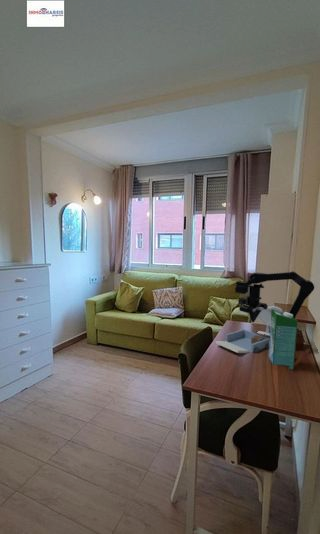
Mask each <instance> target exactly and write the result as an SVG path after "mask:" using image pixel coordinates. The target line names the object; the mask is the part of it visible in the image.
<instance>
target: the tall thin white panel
mask: <svg viewBox="0 0 320 534" xmlns="http://www.w3.org/2000/svg"><path fill="white" fill-rule="evenodd" d="M215 344H217V345H219V346H221V347H223V348H225V349H227V350H230V351H233V352H235V353H237V354H247V353H248V354H249V351H248V350H246V349H244V348H241V347H239V346H236V345H234V344H232V343H229V342H227V341H226V340H216V341H215Z"/></svg>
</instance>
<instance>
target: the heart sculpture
mask: <svg viewBox="0 0 320 534" xmlns="http://www.w3.org/2000/svg"><path fill="white" fill-rule="evenodd" d="M272 309H273V310H276V311H279V312H283V313H284V311H283V309H282V308H281V307H279V306H276V305H272V306H269V305H268V306H267V309H264V308H262V307H260V308H259V310H262V311H261V312H260V313H259V315H258V316H257V318H256V319H258V320H259V321H260V322H261V323H262V324H263V325H265V331H262V330H257V331H258V332H257V333H256V334H259V335H264V334H265V335H264V336H269V337H270V325H271V311H272Z"/></svg>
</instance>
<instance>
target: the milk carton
mask: <svg viewBox="0 0 320 534" xmlns="http://www.w3.org/2000/svg"><path fill="white" fill-rule="evenodd" d="M288 312H289V311H288ZM288 312H287V311H283V312H279V311H276V310H273V309H272V311H271V325H270V326H269V333H270V336H269V338H270V339H269V348H268V355H267V357H268V358H269V360H270V362H271V364H272V365H276V366H277V365H278V366H287V369H288V370H294V369H295V361H296V360H295V357H296V356H295V355H296V345H297V335H298V334H297V332H298V322H299V320H297V319H296V317H295V318H294V317H293V314H290V313H288Z"/></svg>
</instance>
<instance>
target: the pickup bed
mask: <svg viewBox="0 0 320 534" xmlns="http://www.w3.org/2000/svg"><path fill="white" fill-rule="evenodd" d="M253 336H259V337H262V338H263V340H262V341H259V342H256V343H254V344H251V337H253ZM269 339H270V337H266V336H265V335H262V334H259V333H256V332H252V331H249V330H246V329H240V330H237V331H232V332H230V333H226V334H225V341H227V342H229V343H232V344H234V345H236V346H239V347H241V348H244V349H246V350H248V353H249V352H250V353H251V354H253V353H254V354H257V353H259V352H260V351H261V350H263V349H269Z"/></svg>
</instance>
